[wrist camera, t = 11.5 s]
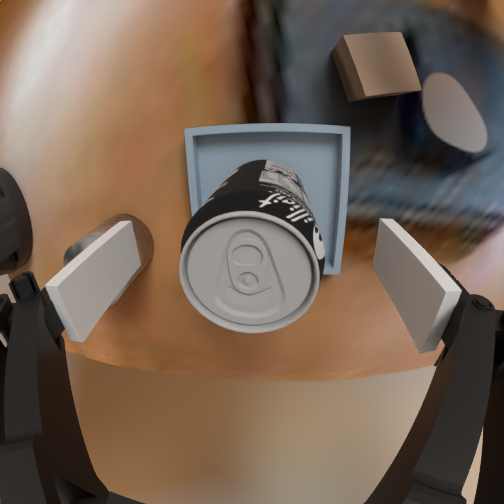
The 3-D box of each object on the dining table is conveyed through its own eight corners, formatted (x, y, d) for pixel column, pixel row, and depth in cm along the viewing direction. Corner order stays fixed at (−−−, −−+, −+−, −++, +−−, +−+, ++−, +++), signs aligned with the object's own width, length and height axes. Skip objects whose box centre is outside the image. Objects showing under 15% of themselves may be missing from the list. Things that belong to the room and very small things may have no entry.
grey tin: (111, 267, 27) (76, 304, 20) (99, 215, 24) (55, 243, 18) (159, 269, 26) (128, 311, 20) (148, 212, 24) (108, 243, 17)
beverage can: (226, 236, 23) (183, 335, 13) (221, 159, 20) (156, 203, 10) (303, 237, 23) (320, 341, 12) (306, 158, 20) (338, 203, 9)
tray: (204, 262, 25) (199, 272, 24) (191, 128, 20) (184, 128, 18) (335, 264, 24) (339, 274, 22) (344, 126, 19) (350, 126, 17)
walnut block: (348, 102, 18) (365, 96, 14) (330, 52, 16) (343, 35, 12) (396, 95, 17) (421, 90, 13) (379, 46, 15) (400, 32, 11)
